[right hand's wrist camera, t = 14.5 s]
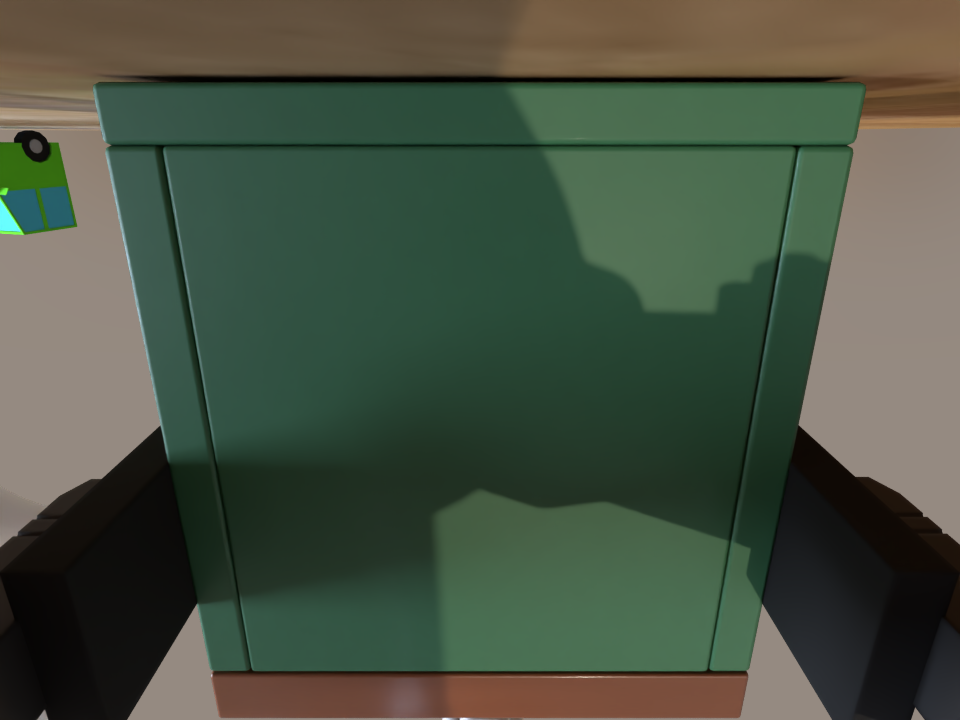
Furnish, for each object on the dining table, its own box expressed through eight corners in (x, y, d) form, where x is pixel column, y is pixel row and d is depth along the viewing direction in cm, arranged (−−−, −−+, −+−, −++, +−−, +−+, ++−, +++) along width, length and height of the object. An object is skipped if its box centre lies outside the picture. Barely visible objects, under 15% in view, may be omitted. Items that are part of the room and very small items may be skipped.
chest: (612, 116, 22) (594, 362, 25) (347, 116, 22) (365, 362, 25) (870, 81, 7) (750, 673, 11) (87, 81, 7) (208, 673, 11)
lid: (591, 356, 26) (579, 538, 29) (368, 356, 26) (380, 537, 29) (750, 675, 11) (687, 982, 14) (208, 675, 11) (271, 982, 14)
